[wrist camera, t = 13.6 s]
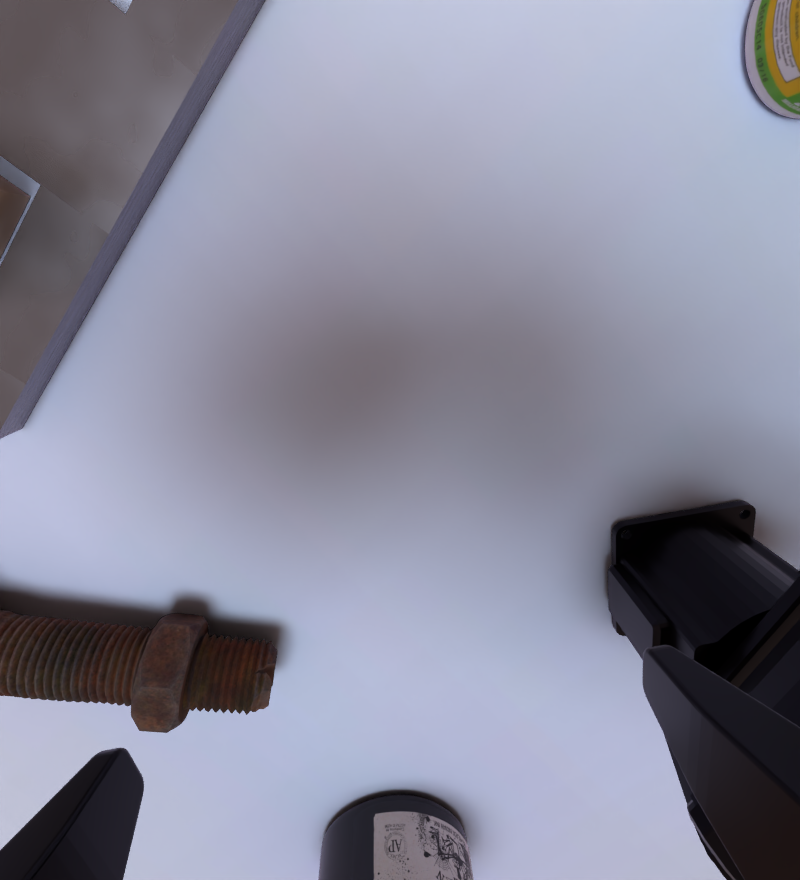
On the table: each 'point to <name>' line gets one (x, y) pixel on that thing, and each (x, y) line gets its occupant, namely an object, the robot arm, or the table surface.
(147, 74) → the strike plate
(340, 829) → the ink bottle
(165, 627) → the bolt
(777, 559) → the robot arm
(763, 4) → the supplement bottle
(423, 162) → the table surface
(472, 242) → the table surface
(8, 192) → the birch peg
